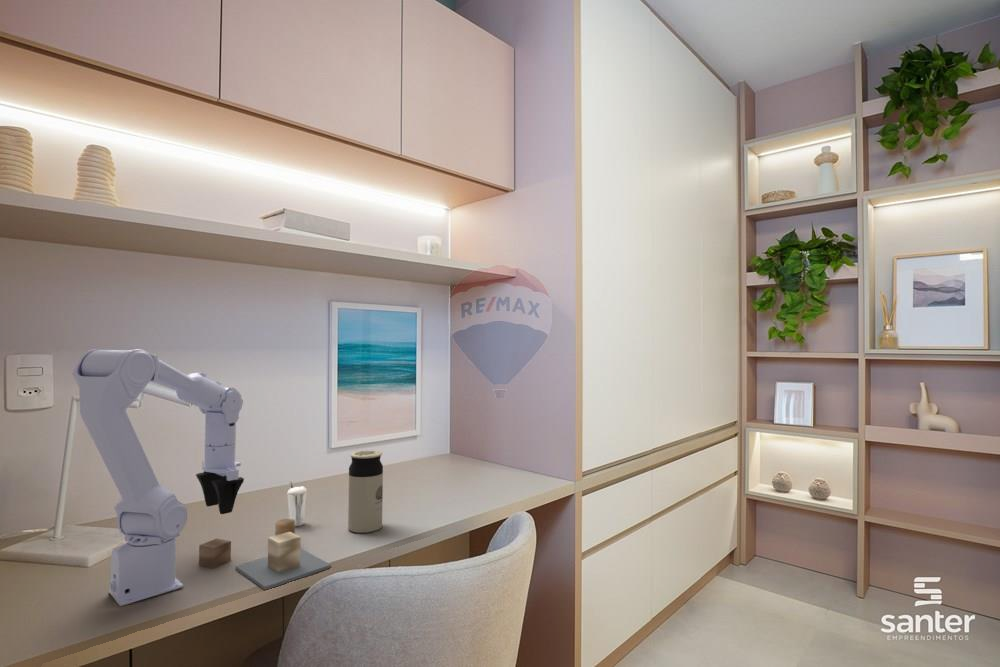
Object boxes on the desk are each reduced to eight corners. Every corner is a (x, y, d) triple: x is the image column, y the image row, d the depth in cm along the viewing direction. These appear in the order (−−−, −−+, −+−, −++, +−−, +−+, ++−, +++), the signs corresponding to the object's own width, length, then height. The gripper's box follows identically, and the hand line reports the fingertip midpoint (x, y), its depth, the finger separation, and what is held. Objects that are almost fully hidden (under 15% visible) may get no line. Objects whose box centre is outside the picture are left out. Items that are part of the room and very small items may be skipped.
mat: (264, 590, 93) (264, 586, 93) (235, 569, 101) (235, 566, 101) (331, 567, 102) (331, 564, 102) (299, 550, 111) (299, 547, 111)
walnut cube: (213, 568, 102) (213, 548, 102) (198, 565, 103) (199, 545, 104) (230, 560, 106) (231, 541, 106) (216, 557, 107) (216, 538, 107)
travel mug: (341, 530, 123) (342, 454, 124) (362, 520, 130) (363, 448, 131) (368, 536, 120) (368, 457, 120) (388, 525, 127) (389, 451, 128)
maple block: (278, 572, 99) (278, 543, 99) (267, 565, 102) (268, 537, 102) (300, 565, 102) (300, 536, 102) (289, 559, 105) (289, 531, 105)
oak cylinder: (280, 549, 111) (280, 526, 112) (271, 544, 114) (272, 522, 114) (297, 544, 114) (298, 521, 115) (289, 540, 117) (289, 517, 117)
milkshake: (298, 519, 131) (299, 479, 131) (310, 524, 128) (310, 483, 128) (281, 524, 128) (282, 483, 128) (292, 529, 124) (293, 487, 124)
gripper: (254, 446, 108) (253, 512, 107) (226, 437, 117) (225, 498, 117) (217, 450, 102) (216, 520, 102) (192, 441, 112) (190, 505, 112)
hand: (218, 509), depth 109 cm, fingers open, 7 cm apart
